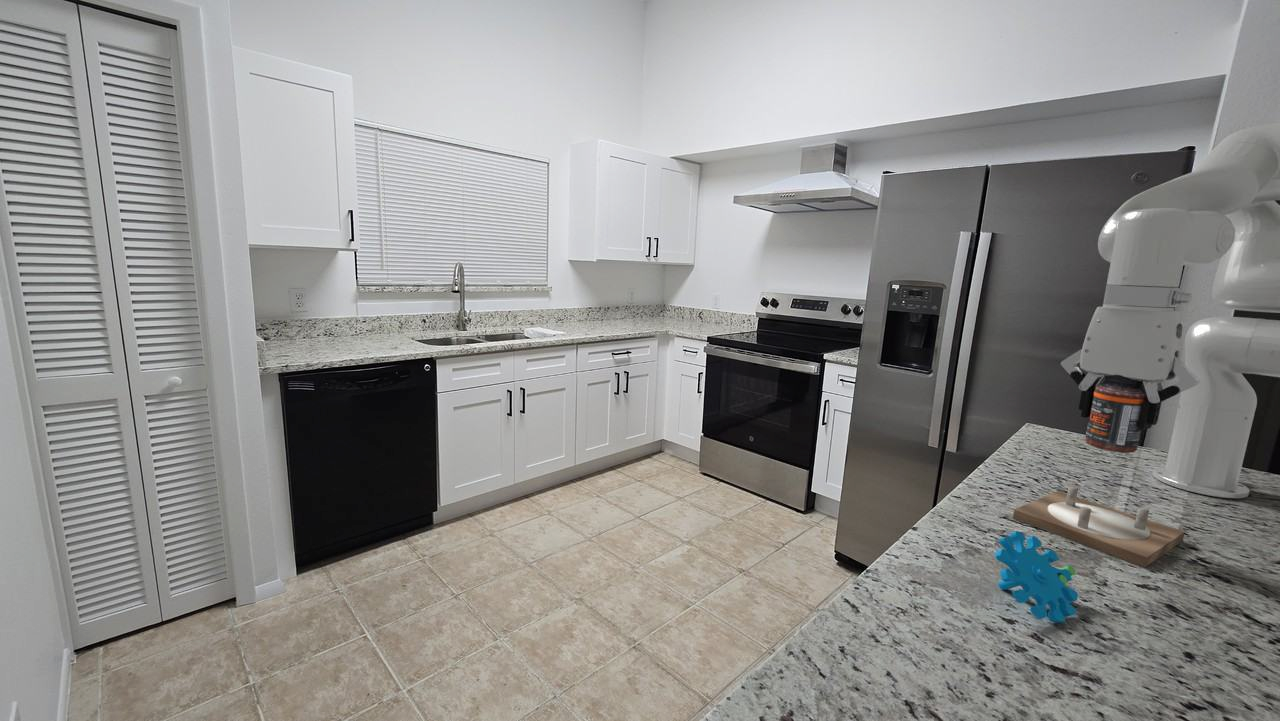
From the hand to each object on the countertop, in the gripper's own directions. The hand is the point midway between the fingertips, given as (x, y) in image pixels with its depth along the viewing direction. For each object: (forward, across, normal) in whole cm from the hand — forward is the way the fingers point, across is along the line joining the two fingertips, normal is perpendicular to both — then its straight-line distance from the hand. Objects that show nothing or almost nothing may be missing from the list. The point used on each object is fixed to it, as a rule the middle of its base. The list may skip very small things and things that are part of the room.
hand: (1115, 421), depth 79 cm
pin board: (+17, 0, 0) cm, 17 cm away
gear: (+18, -4, +30) cm, 35 cm away
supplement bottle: (+4, 0, 0) cm, 4 cm away
